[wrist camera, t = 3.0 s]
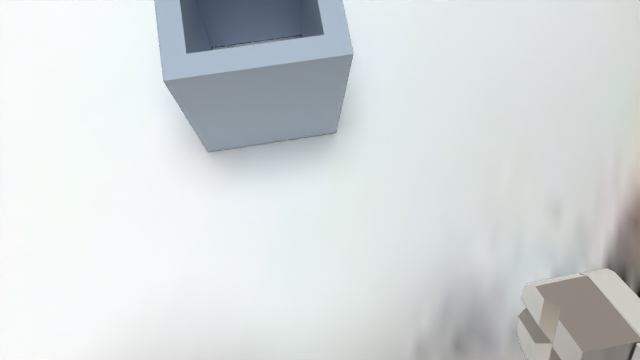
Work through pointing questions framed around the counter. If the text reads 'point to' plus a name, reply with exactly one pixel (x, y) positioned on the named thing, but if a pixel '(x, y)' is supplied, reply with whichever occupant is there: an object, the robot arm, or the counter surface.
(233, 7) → the open square bin
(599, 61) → the counter surface
